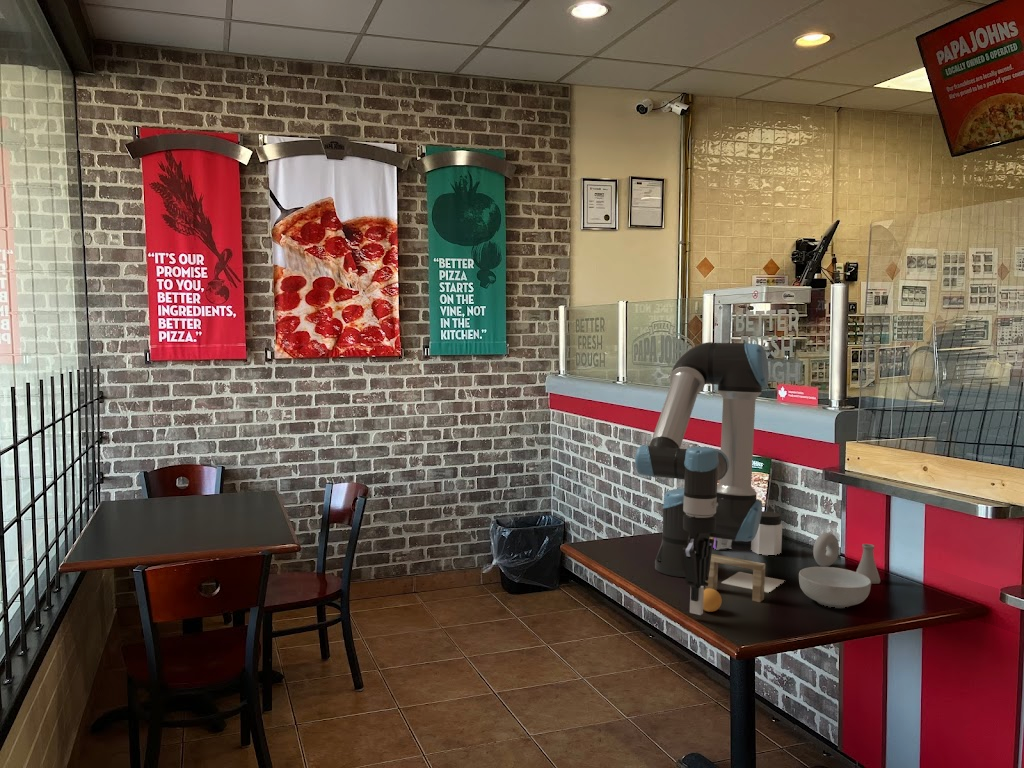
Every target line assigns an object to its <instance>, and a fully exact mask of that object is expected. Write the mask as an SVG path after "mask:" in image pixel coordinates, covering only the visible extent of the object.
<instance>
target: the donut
mask: <svg viewBox="0 0 1024 768" xmlns="http://www.w3.org/2000/svg"><path fill="white" fill-rule="evenodd" d="M812 550H813V558H814V561H815V562H816V563H817V565H819V566H820V567H831V566H832V565H833V564H835V562H836V560H837V559H838V556H839V553H840V544H839V540H838V538H837V537H836V536H835V535H834V534H833V533H831V532H823V533H821V534H819V535H818V537H816V539H815V542H814V544H813V547H812Z"/></svg>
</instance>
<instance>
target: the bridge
mask: <svg viewBox="0 0 1024 768" xmlns="http://www.w3.org/2000/svg"><path fill="white" fill-rule="evenodd" d="M719 564H723V565H728V566H734V567H737V568H743V569H749V570H752V574H753V589H751V590H752V593H751V601H752V602H757V603H761V602H762V601H763V600H765V592H764V585H765V577H766V563H763V562H759V561H758V562H757V561H752V560H748V559H747V560H746V559H741V558H737V557H733V556H732V557H731V556H725V555H720V554H714V553H712V554H711V562H710V570H709V578H708V581H705V582H707V583H708V586H705V587H704V590H705V589H708V588H711V589H714V590H716V591H717V590H718V575H719V574H718V573H719Z"/></svg>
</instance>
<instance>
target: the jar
mask: <svg viewBox="0 0 1024 768" xmlns="http://www.w3.org/2000/svg"><path fill="white" fill-rule="evenodd" d="M782 541H783V523H782V515H781V514H780V513H778V512H775V511H774V512H773V511H766V510H762V514H761V519H760V524H759V528H758V531H757V534H756V536H755V538H754V539H753V540H752V541H750V551H751V550H752V551H751V552H752V553H755V554H757V555H759V554H762V555H761V556H768V555H775V556H777V554H778V555H780V553H781V554H782V544H783V543H782Z"/></svg>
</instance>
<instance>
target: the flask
mask: <svg viewBox="0 0 1024 768" xmlns="http://www.w3.org/2000/svg"><path fill="white" fill-rule="evenodd" d="M861 545H862V547H861V548H862V555H861V559H860V561H859V563H858V566H857V568H856V571H855V572H857V573H860V574H862V575H864V576H866V577H868V578H869V579H870V581H871V585H873V584H874V585H876V584H878V585H879V584H880V583H881V582H882V581H881V578H880V574H879V571H878V569H877V565H876V561H875V558H874V557H875V556H874V549H875V547H876V545H874V544H871V543H862V544H861Z"/></svg>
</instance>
